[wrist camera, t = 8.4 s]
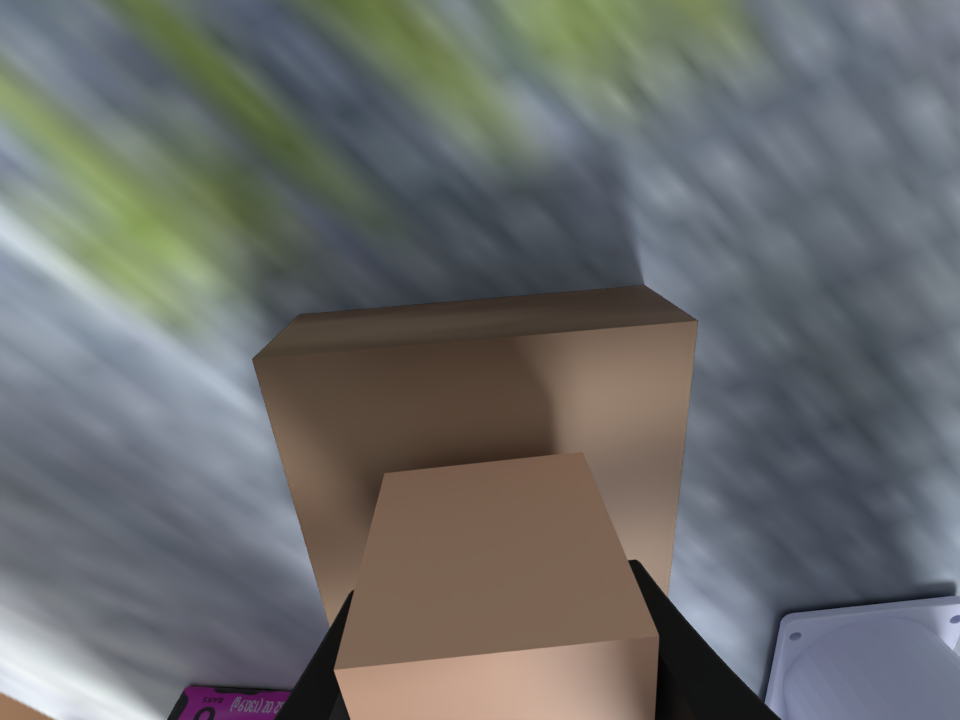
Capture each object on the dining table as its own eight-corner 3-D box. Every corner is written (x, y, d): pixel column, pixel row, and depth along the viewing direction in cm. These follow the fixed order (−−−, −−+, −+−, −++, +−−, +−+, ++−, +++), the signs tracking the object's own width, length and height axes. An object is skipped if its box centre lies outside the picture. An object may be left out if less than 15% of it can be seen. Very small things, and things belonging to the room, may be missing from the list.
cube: (586, 596, 14) (649, 816, 9) (415, 614, 14) (391, 841, 9) (582, 451, 12) (659, 636, 7) (384, 473, 12) (333, 669, 7)
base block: (625, 542, 20) (664, 630, 16) (362, 565, 20) (339, 659, 16) (640, 282, 15) (697, 320, 12) (302, 311, 15) (252, 359, 12)
